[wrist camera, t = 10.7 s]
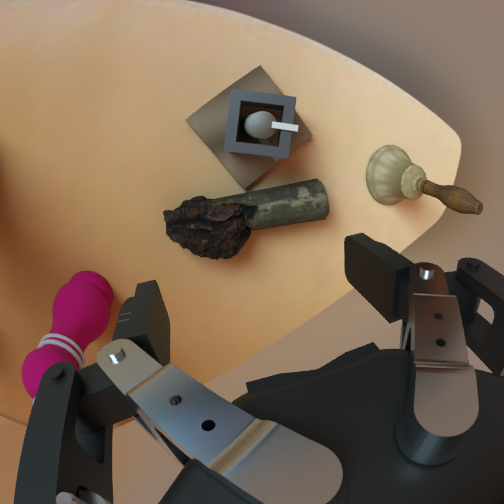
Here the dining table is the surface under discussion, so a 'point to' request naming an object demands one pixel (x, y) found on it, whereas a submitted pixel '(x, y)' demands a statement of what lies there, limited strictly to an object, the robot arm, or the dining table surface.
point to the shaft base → (218, 124)
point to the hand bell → (411, 182)
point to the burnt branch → (242, 216)
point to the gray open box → (284, 126)
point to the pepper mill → (70, 326)
